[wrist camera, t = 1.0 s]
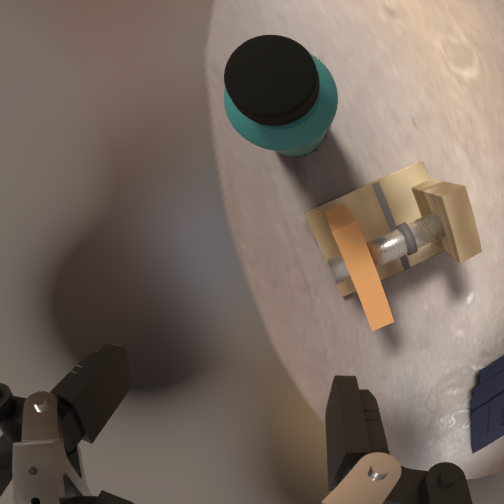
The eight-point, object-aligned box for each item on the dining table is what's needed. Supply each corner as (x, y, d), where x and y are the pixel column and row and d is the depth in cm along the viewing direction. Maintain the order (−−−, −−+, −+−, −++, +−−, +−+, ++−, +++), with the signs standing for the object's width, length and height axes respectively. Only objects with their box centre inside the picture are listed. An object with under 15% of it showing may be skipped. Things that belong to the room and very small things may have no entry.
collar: (357, 288, 31) (372, 331, 23) (324, 211, 30) (331, 231, 21) (374, 280, 31) (394, 321, 22) (342, 203, 29) (356, 220, 21)
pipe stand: (341, 293, 34) (349, 335, 25) (304, 213, 32) (303, 232, 23) (448, 244, 30) (485, 271, 21) (420, 161, 28) (457, 162, 19)
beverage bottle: (317, 165, 30) (334, 170, 11) (254, 149, 31) (175, 133, 12) (332, 106, 28) (367, 27, 9) (269, 91, 29) (214, 0, 10)
